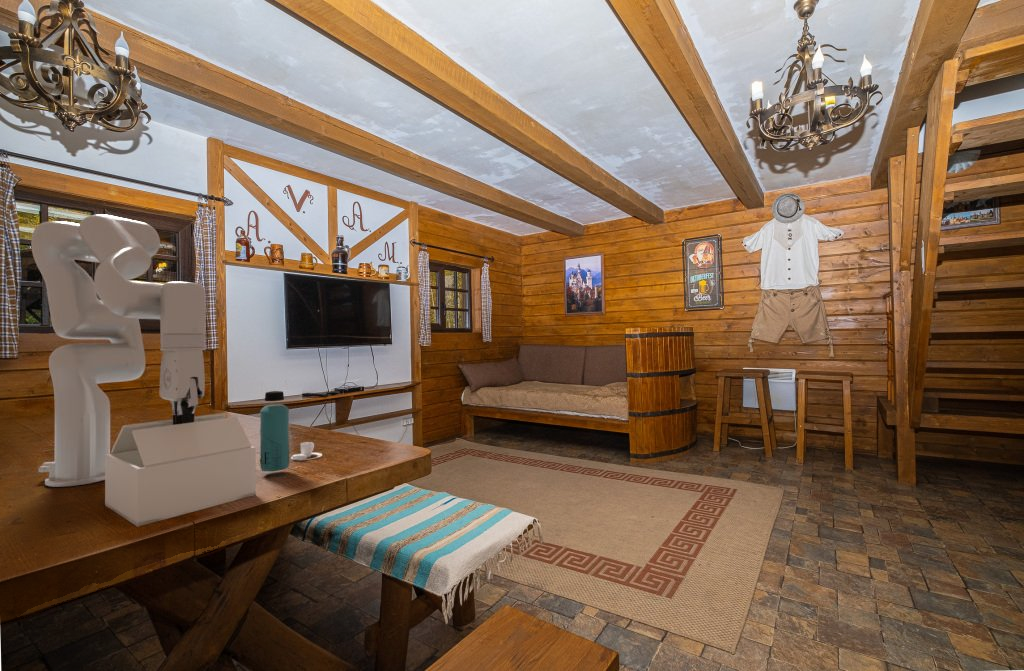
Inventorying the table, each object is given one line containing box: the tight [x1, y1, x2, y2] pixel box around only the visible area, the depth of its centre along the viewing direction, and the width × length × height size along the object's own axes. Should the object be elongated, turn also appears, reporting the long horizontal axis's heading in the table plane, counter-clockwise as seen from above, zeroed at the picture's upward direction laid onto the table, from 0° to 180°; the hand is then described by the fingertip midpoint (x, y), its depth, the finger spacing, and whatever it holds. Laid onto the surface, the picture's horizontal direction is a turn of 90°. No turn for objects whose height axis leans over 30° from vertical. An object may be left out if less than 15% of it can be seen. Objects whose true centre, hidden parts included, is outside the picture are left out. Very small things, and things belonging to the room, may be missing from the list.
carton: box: [104, 445, 257, 528], centre depth 94 cm, size 20×18×10 cm
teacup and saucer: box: [290, 441, 323, 461], centre depth 129 cm, size 9×8×4 cm
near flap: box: [132, 416, 252, 468], centre depth 91 cm, size 18×8×1 cm
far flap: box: [110, 412, 226, 454], centre depth 98 cm, size 18×9×1 cm
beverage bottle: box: [259, 390, 291, 472], centre depth 112 cm, size 6×7×20 cm
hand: (183, 433), depth 94 cm, fingers closed
